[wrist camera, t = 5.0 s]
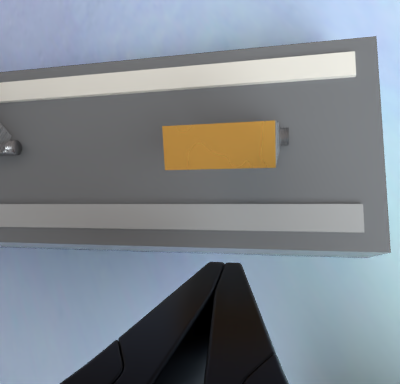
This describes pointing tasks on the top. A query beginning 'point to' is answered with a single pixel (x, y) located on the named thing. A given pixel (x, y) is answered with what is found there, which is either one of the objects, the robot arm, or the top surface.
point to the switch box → (201, 178)
